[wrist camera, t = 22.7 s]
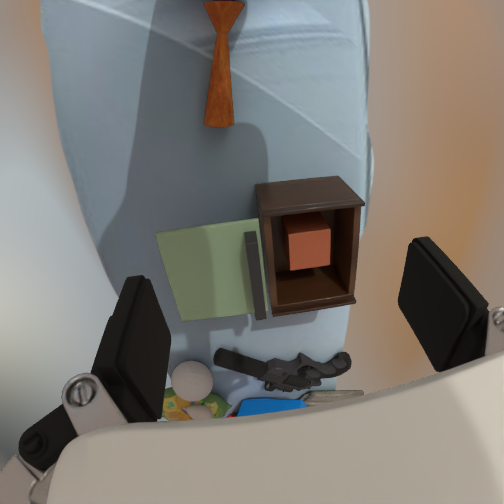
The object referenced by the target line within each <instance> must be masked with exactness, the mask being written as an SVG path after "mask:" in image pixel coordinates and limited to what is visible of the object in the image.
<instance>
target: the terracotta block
mask: <svg viewBox="0 0 504 504" xmlns="http://www.w3.org/2000/svg"><path fill="white" fill-rule="evenodd" d="M282 231H283V246H284V252H285V255H286V258H287V262H288V265H289V268H290V270H298V269H305V268H313V267H320V266H326V265H330V244H331V229H330V227H329V226H328V224H327V223H326V221H325V219H324V218H323V216H322V215H321V213H320V212H311V213H302V214H294V215H286V216H282Z"/></svg>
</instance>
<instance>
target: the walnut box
mask: <svg viewBox="0 0 504 504" xmlns="http://www.w3.org/2000/svg"><path fill="white" fill-rule="evenodd" d="M255 187H256V196H257V205H258V214H259V223H260V233H261V242H262V251H263V261H264V270H265V277H266V283H267V288H268V293H269V299H270V304H271V310H272V315H273V317H275V316H282V315H289V314H296V313H302V312H309V311H315V310H321V309H327V308H333V307H339V306H344V305H350V304H355V303H356V300H355V298H354V289H355V280H356V270H357V258H358V246H359V233H360V216H361V206H365V202H364V201H363V200H362V199H361V198H360V197H359V196H358V195H357V194H356V193H355V192H354V191H353V190H352V189H351V188H350V187H349V186H348V185H347V184H346V183H345V182H344V181H343V180H342V179H341V178H340V177H339V176H330V177H319V178H309V179H299V180H289V181H280V182H271V183H263V184H255ZM311 212H320V213H321V215H322V216H323V218H324V219H325V221H326V223H327V224H328V226H329V227H330V229H331V244H330V265H326V266H320V267H313V268H305V269H298V270H290V268H289V265H288V262H287V258H286V255H285V252H284V246H283V231H282V216H286V215H294V214H302V213H311Z"/></svg>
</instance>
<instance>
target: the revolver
mask: <svg viewBox="0 0 504 504" xmlns="http://www.w3.org/2000/svg"><path fill="white" fill-rule="evenodd" d="M214 363H215V365H218V366H221V367H224V368H227V369H231V370H234V371H237V372H240V373H244V374H247V375H251V376H254V377H257V378H258V380H261V381H265V382H266V383H265V390H267V391H273V390H275V389H276V388H277V389H279V390H282V391H283V392H284V391H286V392H292V391H293V389H297V391H300V390H303V389H307V388H308V389H310V387H311V386H320V385H321V381H320V379H321V378H332V377H336V376H339V375H341V374H343V373H345V372H346V371H348V370H349V369H350V367H351V359H350V356H349V354H347V353H346V352H340V353H339V355H338V357H337V358H335V359H332V360H331V361H330V362H329V363H326V364H322V363H320V362H315V361H313V360H312V359H310V358H309V357H307V356H306V355H304V354H302V353H299V357H298V358H297V359H295V360H293V361H289V362H287V361H283V360H280V359H276V358H275V359H272V360H270V361H268V362H267V363H265V362H262V361H259V360H256V359H253V358H249V357H246V356H243V355H240V354H237V353H234V352H231V351H228V350H225V349H222V348H220V349H218V350H217V351H216V353H215V355H214ZM305 365H306V366H305ZM309 365H310V366H312V368H309ZM303 366H304V367H303Z"/></svg>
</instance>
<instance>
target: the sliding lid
mask: <svg viewBox="0 0 504 504" xmlns="http://www.w3.org/2000/svg"><path fill="white" fill-rule="evenodd" d="M155 236H156V240H157V243H158V247H159V250H160V254H161V257H162V260H163V264H164V267H165V270H166V274H167V277H168V280H169V283H170V286H171V289H172V292H173V296H174V299H175V302H176V305H177V308H178V311H179V314H180V316H181V319H182V321H189V320H199V319H208V318H217V317H226V316H234V315H242V314H250V313H255V317H256V320H263V319H266V311H268V303H267V293H266V284H265V274H264V265H263V255H262V246H261V237H260V228H259V220H258V218H255V219H247V220H240V221H232V222H225V223H218V224H210V225H203V226H196V227H189V228H183V229H176V230H169V231H163V232H156V234H155Z"/></svg>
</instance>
